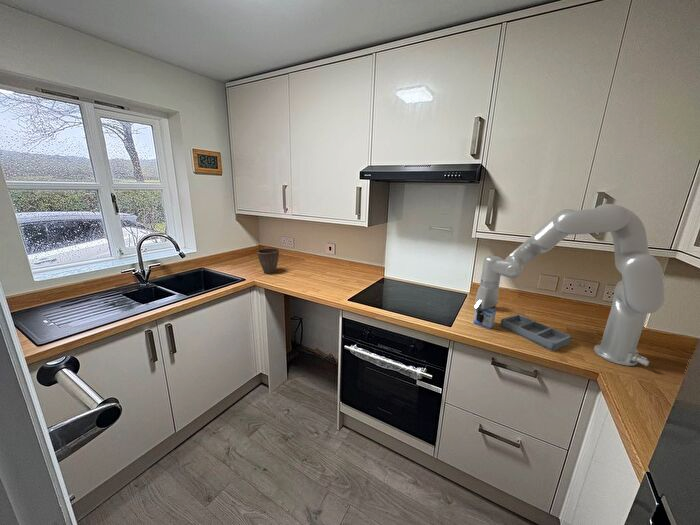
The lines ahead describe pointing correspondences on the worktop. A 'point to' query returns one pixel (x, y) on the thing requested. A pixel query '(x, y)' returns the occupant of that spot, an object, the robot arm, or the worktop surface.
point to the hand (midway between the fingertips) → (483, 319)
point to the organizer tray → (536, 332)
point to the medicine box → (486, 318)
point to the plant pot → (268, 259)
